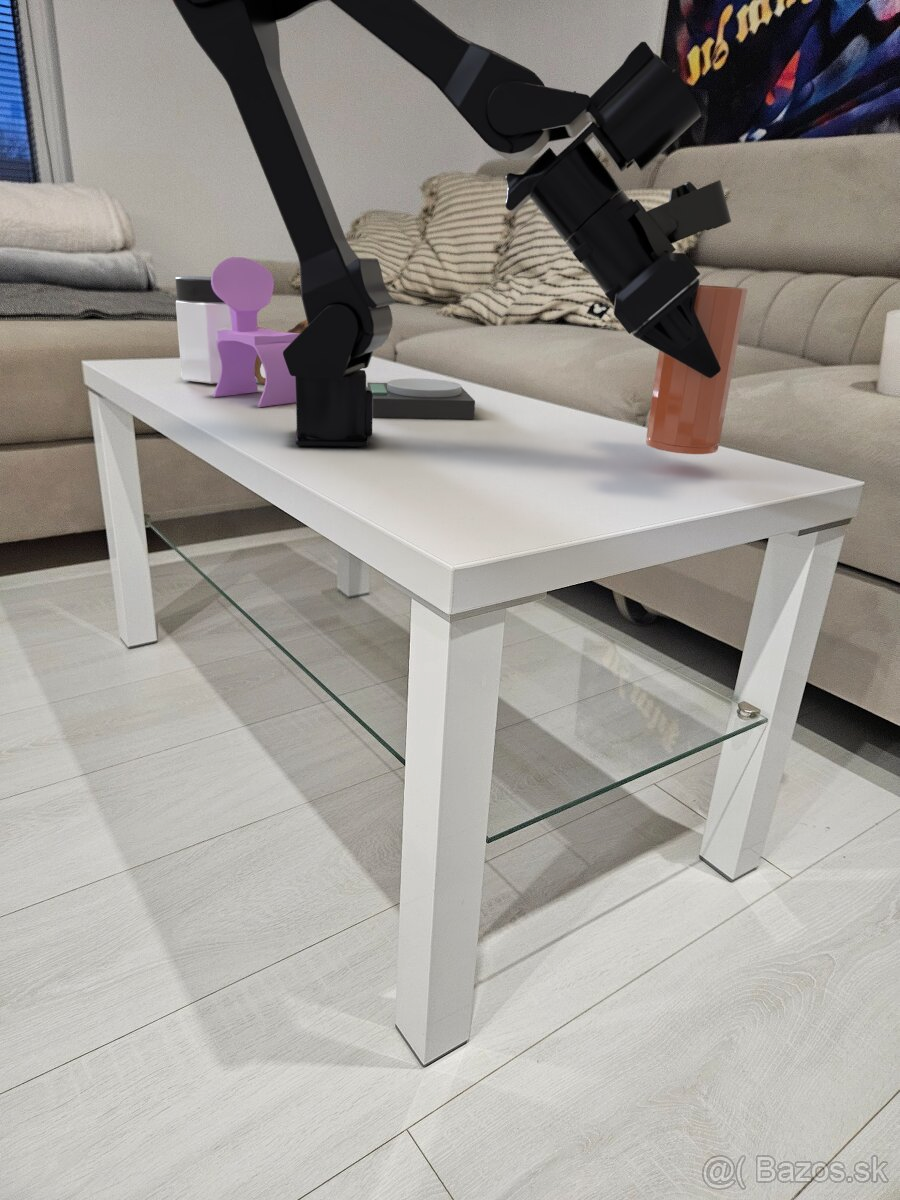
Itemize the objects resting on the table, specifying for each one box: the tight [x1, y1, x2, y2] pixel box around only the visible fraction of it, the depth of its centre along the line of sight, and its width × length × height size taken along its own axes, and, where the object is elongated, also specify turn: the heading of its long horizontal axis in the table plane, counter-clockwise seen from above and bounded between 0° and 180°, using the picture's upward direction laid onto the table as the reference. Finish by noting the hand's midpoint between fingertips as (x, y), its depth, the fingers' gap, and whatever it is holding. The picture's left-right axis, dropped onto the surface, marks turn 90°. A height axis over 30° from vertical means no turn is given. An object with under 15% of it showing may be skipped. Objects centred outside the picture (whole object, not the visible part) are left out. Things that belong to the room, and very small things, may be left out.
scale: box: [367, 377, 476, 420], centre depth 93 cm, size 11×11×3 cm
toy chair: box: [210, 256, 299, 408], centre depth 92 cm, size 8×9×15 cm
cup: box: [645, 284, 748, 455], centre depth 69 cm, size 6×6×13 cm
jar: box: [175, 275, 232, 385], centre depth 103 cm, size 9×8×12 cm
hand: (711, 369), depth 69 cm, fingers closed on cup, 6 cm apart
